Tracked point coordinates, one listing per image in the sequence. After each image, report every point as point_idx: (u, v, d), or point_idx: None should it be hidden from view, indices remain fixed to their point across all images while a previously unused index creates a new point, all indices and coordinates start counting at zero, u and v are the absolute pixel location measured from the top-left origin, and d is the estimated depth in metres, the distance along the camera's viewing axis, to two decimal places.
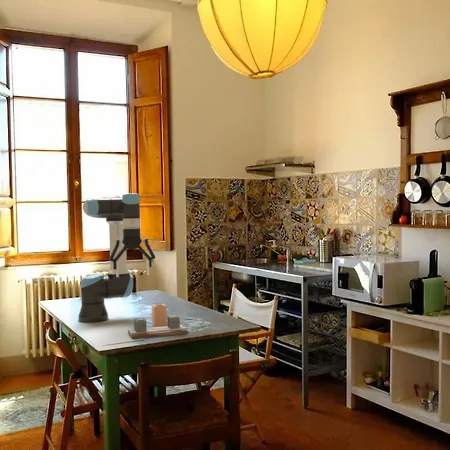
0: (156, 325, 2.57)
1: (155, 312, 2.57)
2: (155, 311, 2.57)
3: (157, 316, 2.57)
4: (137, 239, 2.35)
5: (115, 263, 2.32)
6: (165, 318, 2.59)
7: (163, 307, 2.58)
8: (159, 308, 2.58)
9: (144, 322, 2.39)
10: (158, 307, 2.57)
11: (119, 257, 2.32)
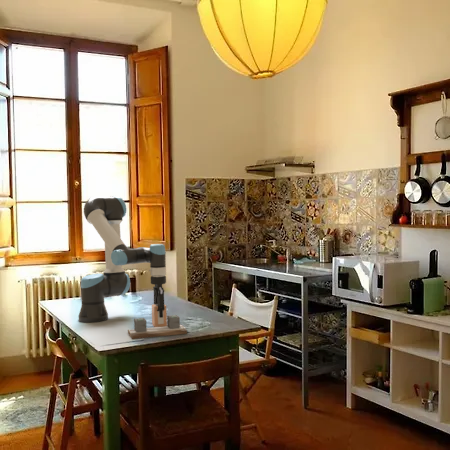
0: (156, 325, 2.57)
1: (155, 312, 2.57)
2: (155, 311, 2.57)
3: (157, 316, 2.57)
4: (157, 286, 2.58)
5: None
6: (165, 318, 2.59)
7: None
8: None
9: (144, 322, 2.39)
10: None
11: (155, 303, 2.63)
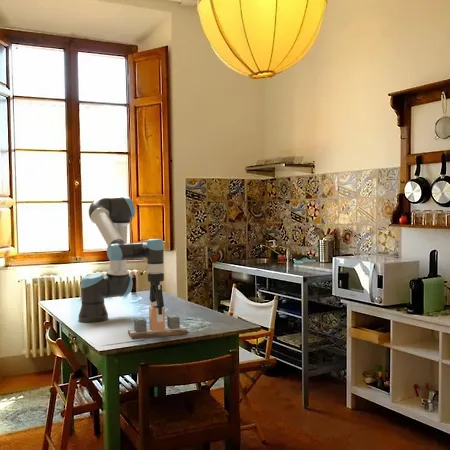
0: (154, 329, 2.41)
1: (152, 315, 2.40)
2: (152, 314, 2.40)
3: (155, 319, 2.41)
4: (154, 284, 2.41)
5: None
6: (163, 321, 2.42)
7: None
8: None
9: (144, 322, 2.39)
10: (156, 309, 2.41)
11: (151, 298, 2.49)
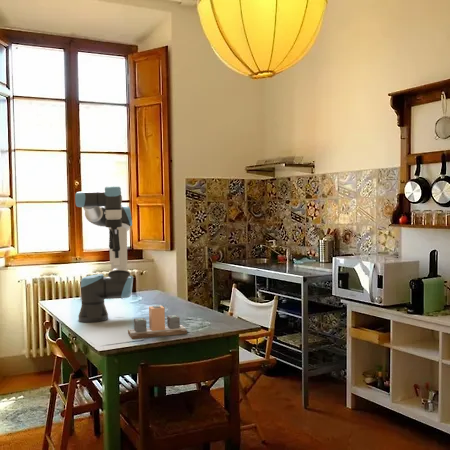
0: (154, 329, 2.41)
1: (152, 315, 2.40)
2: (152, 314, 2.40)
3: (155, 319, 2.41)
4: (112, 229, 2.49)
5: None
6: (163, 321, 2.42)
7: (161, 309, 2.42)
8: (157, 310, 2.41)
9: (144, 322, 2.39)
10: (156, 309, 2.41)
11: (110, 244, 2.57)
